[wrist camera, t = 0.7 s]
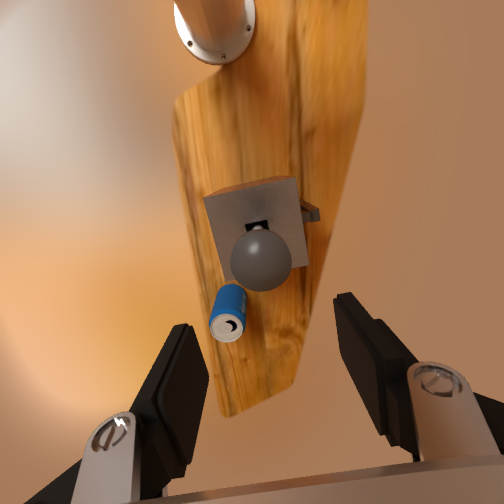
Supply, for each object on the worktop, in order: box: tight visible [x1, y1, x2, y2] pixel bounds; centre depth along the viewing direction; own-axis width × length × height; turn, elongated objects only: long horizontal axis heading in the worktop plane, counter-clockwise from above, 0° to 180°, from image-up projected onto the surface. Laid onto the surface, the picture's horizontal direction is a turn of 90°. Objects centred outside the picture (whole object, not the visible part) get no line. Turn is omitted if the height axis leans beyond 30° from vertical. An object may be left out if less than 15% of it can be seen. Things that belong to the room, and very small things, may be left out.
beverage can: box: [209, 284, 247, 342], centre depth 48 cm, size 6×6×12 cm
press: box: [203, 176, 320, 282], centre depth 39 cm, size 11×14×19 cm
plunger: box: [230, 219, 292, 291], centre depth 29 cm, size 9×9×19 cm
